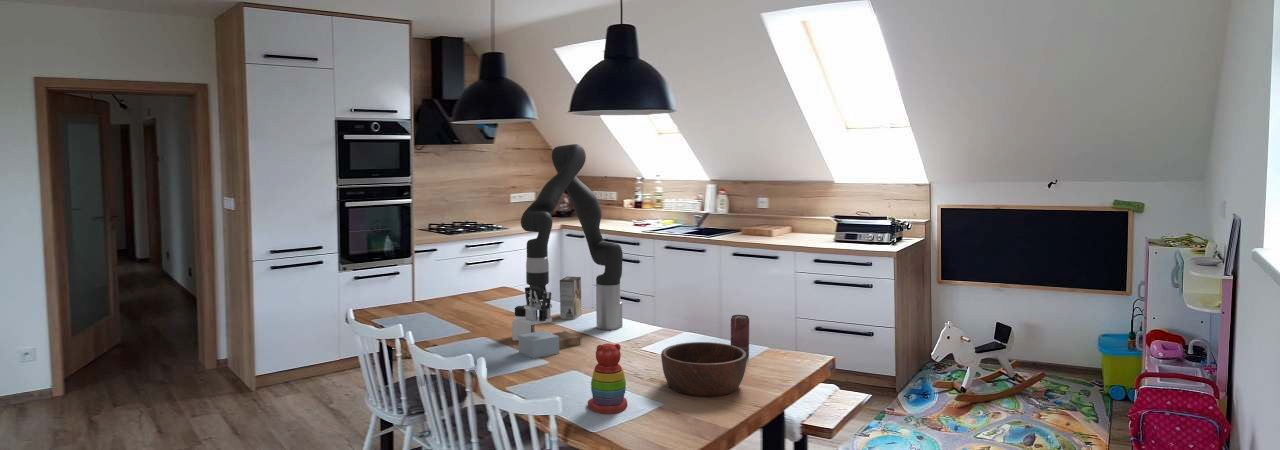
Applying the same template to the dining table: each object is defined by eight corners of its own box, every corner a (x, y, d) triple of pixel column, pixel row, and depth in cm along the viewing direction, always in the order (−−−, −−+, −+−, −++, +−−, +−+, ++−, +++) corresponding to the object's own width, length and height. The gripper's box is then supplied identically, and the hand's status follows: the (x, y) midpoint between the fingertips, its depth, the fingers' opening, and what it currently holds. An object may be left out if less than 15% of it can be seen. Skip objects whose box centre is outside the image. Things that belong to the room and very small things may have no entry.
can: (727, 358, 259) (727, 317, 257) (734, 354, 264) (734, 313, 263) (744, 361, 256) (745, 319, 254) (751, 356, 262) (751, 315, 260)
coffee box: (567, 314, 327) (566, 276, 326) (581, 314, 326) (581, 276, 324) (559, 318, 318) (559, 279, 317) (574, 319, 317) (574, 280, 315)
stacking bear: (625, 401, 217) (625, 338, 215) (631, 413, 207) (630, 347, 205) (586, 403, 215) (586, 339, 214) (590, 415, 206) (589, 349, 204)
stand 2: (565, 339, 285) (565, 331, 285) (580, 344, 277) (580, 336, 277) (541, 343, 279) (541, 335, 279) (556, 349, 271) (556, 341, 271)
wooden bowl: (693, 369, 248) (693, 337, 246) (762, 384, 232) (763, 350, 231) (643, 388, 228) (643, 354, 227) (715, 406, 212) (715, 369, 211)
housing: (544, 319, 270) (544, 301, 270) (552, 321, 266) (551, 304, 266) (524, 322, 265) (523, 304, 265) (531, 325, 261) (531, 307, 261)
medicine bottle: (531, 340, 283) (531, 308, 282) (512, 340, 284) (511, 308, 282) (534, 335, 291) (534, 304, 289) (515, 335, 291) (515, 304, 289)
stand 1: (543, 347, 274) (543, 330, 273) (559, 353, 266) (559, 336, 265) (518, 352, 268) (518, 335, 267) (533, 358, 260) (533, 340, 259)
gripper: (558, 271, 261) (558, 321, 262) (536, 266, 272) (537, 314, 274) (538, 274, 256) (539, 325, 258) (517, 268, 267) (518, 317, 269)
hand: (538, 319), depth 266 cm, fingers closed on housing, 5 cm apart
